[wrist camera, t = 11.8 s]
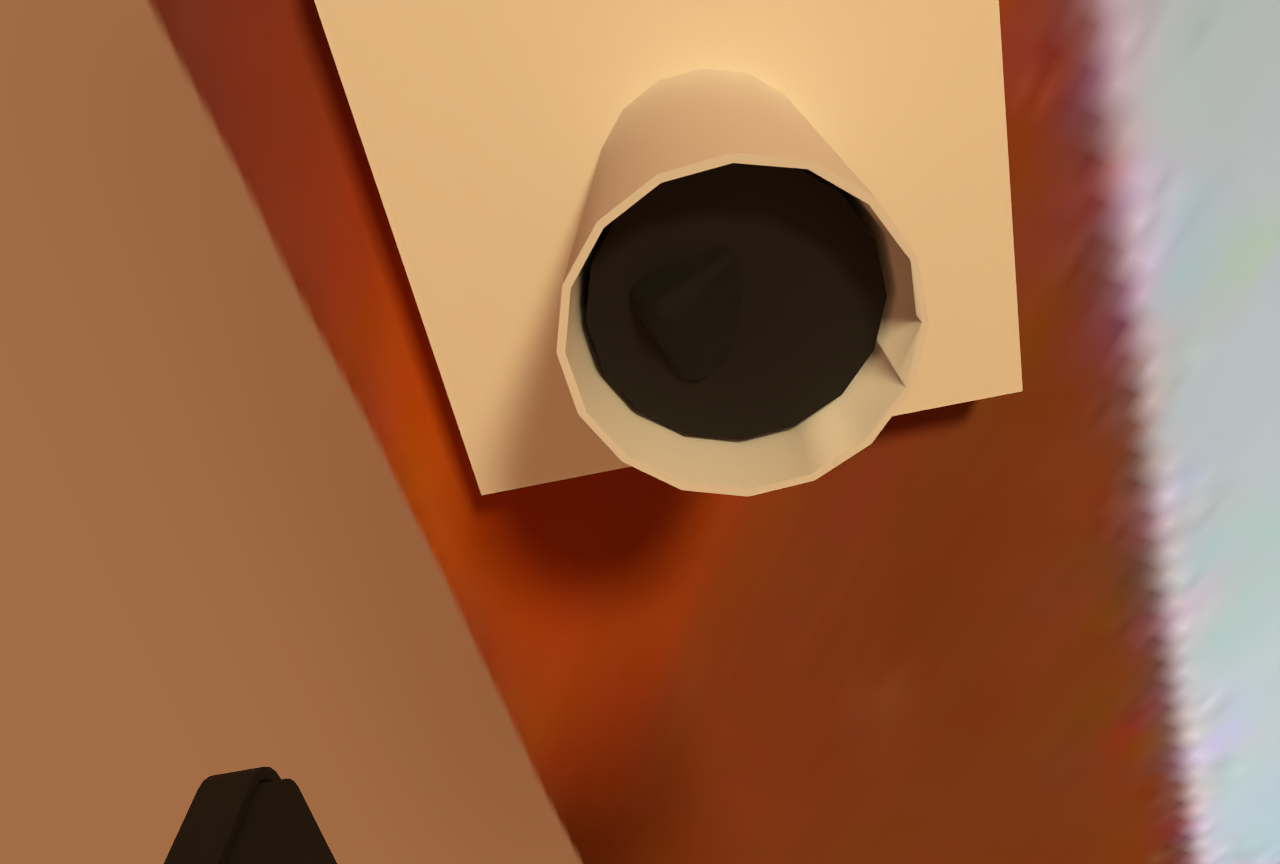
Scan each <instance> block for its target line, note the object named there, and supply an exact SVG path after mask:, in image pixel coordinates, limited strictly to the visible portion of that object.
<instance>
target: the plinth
mask: <svg viewBox="0 0 1280 864" xmlns="http://www.w3.org/2000/svg"><path fill="white" fill-rule="evenodd" d="M314 2H315V5H316V8H317V11H318V14H319V16H320V19H321V22H322V25H323V28H324V31H325V34H326V37H327V40H328V43H329V46H330V49H331V52H332V55H333V58H334V61H335V64H336V67H337V70H338V73H339V76H340V79H341V81H342V84H343V87H344V90H345V93H346V96H347V99H348V102H349V105H350V108H351V111H352V114H353V117H354V120H355V123H356V126H357V129H358V132H359V135H360V138H361V141H362V144H363V146H364V149H365V152H366V155H367V158H368V161H369V164H370V167H371V170H372V173H373V176H374V179H375V182H376V185H377V188H378V191H379V194H380V197H381V200H382V203H383V206H384V209H385V211H386V214H387V217H388V220H389V223H390V226H391V229H392V232H393V235H394V238H395V241H396V244H397V247H398V250H399V253H400V256H401V259H402V262H403V265H404V268H405V271H406V274H407V276H408V279H409V282H410V285H411V288H412V291H413V294H414V297H415V300H416V303H417V306H418V309H419V312H420V315H421V318H422V321H423V324H424V327H425V330H426V333H427V336H428V339H429V341H430V344H431V347H432V350H433V353H434V356H435V359H436V362H437V365H438V368H439V371H440V374H441V377H442V380H443V383H444V386H445V389H446V392H447V395H448V398H449V401H450V404H451V407H452V409H453V412H454V415H455V418H456V421H457V424H458V427H459V430H460V433H461V436H462V439H463V442H464V445H465V448H466V451H467V454H468V457H469V460H470V463H471V466H472V469H473V472H474V474H475V477H476V480H477V483H478V486H479V489H480V492H481V495H486V494H491V493H496V492H501V491H507V490H512V489H517V488H522V487H527V486H533V485H538V484H543V483H548V482H553V481H559V480H564V479H569V478H574V477H579V476H585V475H590V474H595V473H600V472H605V471H610V470H616V469H621V468H626V467H631V466H630V465H628V464H626V463H624V462H622V461H621V460H620V459H619V458H618V457H617V456H616V455H615V453H614V452H613V451H612V450H611V449H610V448H609V447H608V446H607V445H606V444H605V443H604V442H603V441H602V439H601V438H600V437H599V436H598V435H597V434H596V433H595V432H594V431H593V430H592V429H591V428H590V427H589V425H588V424H587V423H586V422H585V421H584V420H583V419H582V418H581V417H580V416H579V415H578V412H577V410H576V407H575V404H574V401H573V398H572V395H571V393H570V390H569V387H568V384H567V381H566V378H565V376H564V373H563V370H562V367H561V364H560V362H559V359H558V356H557V353H556V352H557V340H558V328H559V316H560V304H561V293H562V284H563V280H564V277H565V273H566V270H567V267H568V263H569V260H570V256H571V253H572V249H573V246H574V243H575V239H576V236H577V232H578V229H579V225H580V222H581V219H582V215H583V212H584V208H585V205H586V201H587V198H588V194H589V191H590V188H591V184H592V181H593V177H594V174H595V170H596V167H597V164H598V160H599V157H600V153H601V149H602V147H603V145H604V143H605V142H606V140H607V138H608V136H609V134H610V132H611V130H612V128H613V127H614V125H615V123H616V121H617V119H618V117H619V115H620V114H621V112H622V110H623V109H624V108H625V107H627V106H628V105H629V104H630V103H631V102H633V101H634V100H635V99H636V98H638V97H639V96H640V95H641V94H642V93H644V92H645V91H646V90H647V89H649V88H650V87H651V86H652V85H653V84H655V83H656V82H657V81H659V80H662V79H666V78H669V77H672V76H676V75H679V74H683V73H686V72H689V71H693V70H696V69H699V68H709V69H718V70H726V71H735V72H743V73H748V74H750V75H752V76H753V77H755V78H757V79H759V80H760V81H762V82H764V83H765V84H767V85H769V86H770V87H772V88H774V89H776V90H777V91H779V92H781V93H782V94H784V95H786V96H787V98H788V99H789V100H790V101H791V102H792V103H793V105H794V106H795V107H796V108H797V109H798V110H799V111H800V112H801V114H802V115H803V116H804V117H805V118H806V119H807V120H808V122H809V123H810V124H811V125H812V126H813V127H814V128H815V129H816V131H817V132H818V133H819V134H820V135H821V136H822V137H823V139H824V140H825V141H826V142H827V143H828V144H829V145H830V146H831V148H832V149H833V150H834V151H835V152H836V153H837V154H838V156H839V157H840V158H841V159H842V160H843V161H844V162H845V163H846V165H847V166H848V167H849V168H850V169H851V170H852V171H853V173H854V174H855V175H856V176H857V177H858V178H859V179H860V180H861V182H862V183H863V184H864V185H865V186H866V187H867V188H868V190H869V191H870V192H871V193H872V194H873V195H874V196H875V197H876V199H877V200H878V201H879V203H880V204H881V206H882V207H883V208H884V210H885V211H886V213H887V214H888V216H889V217H890V218H891V220H892V221H893V223H894V224H895V225H896V227H897V228H898V230H899V231H900V232H901V234H902V235H903V237H904V238H905V240H906V241H907V242H908V244H909V245H910V247H911V248H912V249H913V251H914V252H915V254H916V255H917V257H918V263H919V268H920V274H921V280H922V285H923V291H924V297H925V303H926V308H927V314H928V320H929V326H928V330H927V334H926V338H925V342H924V346H923V350H922V353H921V357H920V361H919V365H918V369H917V373H916V377H915V381H914V385H913V389H912V390H911V391H910V393H909V394H908V395H907V397H906V398H905V399H904V401H903V402H902V403H901V405H900V406H899V407H898V409H897V410H896V412H895V413H894V414H893V416H896V415H901V414H906V413H911V412H917V411H922V410H927V409H932V408H937V407H943V406H948V405H953V404H958V403H963V402H969V401H974V400H979V399H984V398H989V397H994V396H1000V395H1005V394H1010V393H1015V392H1020V391H1023V390H1022V374H1021V357H1020V341H1019V325H1018V308H1017V292H1016V276H1015V259H1014V243H1013V227H1012V210H1011V194H1010V178H1009V161H1008V145H1007V129H1006V112H1005V96H1004V80H1003V63H1002V47H1001V31H1000V15H999V0H314Z"/></svg>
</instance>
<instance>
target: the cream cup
mask: <svg viewBox="0 0 1280 864" xmlns="http://www.w3.org/2000/svg"><path fill="white" fill-rule="evenodd" d="M928 326H929V320H928V314H927V308H926V303H925V297H924V291H923V285H922V280H921V274H920V268H919V263H918V257H917V255H916V254H915V252H914V251H913V249H912V248H911V247H910V245H909V244H908V242H907V241H906V240H905V238H904V237H903V235H902V234H901V232H900V231H899V230H898V228H897V227H896V225H895V224H894V223H893V221H892V220H891V218H890V217H889V216H888V214H887V213H886V211H885V210H884V208H883V207H882V206H881V204H880V203H879V201H878V200H877V199H876V197H875V196H874V195H873V194H872V193H871V192H870V191H869V190H868V188H867V187H866V186H865V185H864V184H863V183H862V182H861V180H860V179H859V178H858V177H857V176H856V175H855V174H854V173H853V171H852V170H851V169H850V168H849V167H848V166H847V165H846V163H845V162H844V161H843V160H842V159H841V158H840V157H839V156H838V154H837V153H836V152H835V151H834V150H833V149H832V148H831V146H830V145H829V144H828V143H827V142H826V141H825V140H824V139H823V137H822V136H821V135H820V134H819V133H818V132H817V131H816V129H815V128H814V127H813V126H812V125H811V124H810V123H809V122H808V120H807V119H806V118H805V117H804V116H803V115H802V114H801V112H800V111H799V110H798V109H797V108H796V107H795V106H794V105H793V103H792V102H791V101H790V100H789V99H788V98H787V96H786V95H784V94H782V93H781V92H779V91H777V90H776V89H774V88H772V87H770V86H769V85H767V84H765V83H764V82H762V81H760V80H759V79H757V78H755V77H753V76H752V75H750V74H748V73H743V72H735V71H726V70H718V69H709V68H699V69H696V70H693V71H689V72H686V73H683V74H679V75H676V76H672V77H669V78H666V79H662V80H659V81H657V82H656V83H655V84H653V85H652V86H651V87H650V88H649V89H647V90H646V91H645V92H644V93H642V94H641V95H640V96H639V97H638V98H636V99H635V100H634V101H633V102H631V103H630V104H629V105H628V106H627V107H625V108H624V109H623V110H622V112H621V114H620V115H619V117H618V119H617V121H616V123H615V125H614V127H613V128H612V130H611V132H610V134H609V136H608V138H607V140H606V142H605V143H604V145H603V147H602V149H601V153H600V157H599V160H598V164H597V167H596V170H595V174H594V177H593V181H592V184H591V188H590V191H589V194H588V198H587V201H586V205H585V208H584V212H583V215H582V219H581V222H580V225H579V229H578V232H577V236H576V239H575V243H574V246H573V249H572V253H571V256H570V260H569V263H568V267H567V270H566V273H565V277H564V280H563V284H562V293H561V304H560V316H559V328H558V340H557V352H556V353H557V356H558V359H559V362H560V364H561V367H562V370H563V373H564V376H565V378H566V381H567V384H568V387H569V390H570V393H571V395H572V398H573V401H574V404H575V407H576V410H577V412H578V415H579V416H580V417H581V418H582V419H583V420H584V421H585V422H586V423H587V424H588V425H589V427H590V428H591V429H592V430H593V431H594V432H595V433H596V434H597V435H598V436H599V437H600V438H601V439H602V441H603V442H604V443H605V444H606V445H607V446H608V447H609V448H610V449H611V450H612V451H613V452H614V453H615V455H616V456H617V457H618V458H619V459H620V460H621V461H622V462H624V463H626V464H628V465H630V466H632V467H634V468H636V469H638V470H640V471H643V472H645V473H647V474H649V475H651V476H653V477H655V478H657V479H659V480H661V481H664V482H666V483H668V484H670V485H672V486H674V487H676V488H678V489H680V490H685V491H696V492H706V493H717V494H728V495H738V496H753V495H757V494H761V493H765V492H769V491H773V490H777V489H781V488H785V487H789V486H794V485H798V484H802V483H806V482H810V481H814V480H816V479H817V478H819V477H821V476H822V475H824V474H825V473H827V472H828V471H830V470H831V469H833V468H834V467H836V466H838V465H839V464H841V463H842V462H844V461H845V460H847V459H848V458H850V457H851V456H853V455H855V454H856V453H858V452H859V451H861V450H862V449H864V448H865V447H867V446H868V445H870V444H872V442H873V441H874V440H875V438H876V437H877V436H878V434H879V433H880V432H881V430H882V429H883V428H884V426H885V425H886V424H887V422H888V421H889V420H890V418H891V417H892V416H893V414H894V413H895V412H896V410H897V409H898V407H899V406H900V405H901V403H902V402H903V401H904V399H905V398H906V397H907V395H908V394H909V393H910V391H911V390H912V389H913V385H914V381H915V377H916V373H917V369H918V365H919V361H920V357H921V353H922V350H923V346H924V342H925V338H926V334H927V330H928Z"/></svg>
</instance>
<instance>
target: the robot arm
mask: <svg viewBox="0 0 1280 864" xmlns="http://www.w3.org/2000/svg"><path fill="white" fill-rule="evenodd" d="M164 864H337V863H336V861H335V859H334V857H333V855H332V853H331V851H330V849H329V847H328V845H327V843H326V841H325V839H324V837H323V835H322V833H321V831H320V829H319V827H318V825H317V823H316V821H315V819H314V817H313V815H312V813H311V811H310V809H309V807H308V805H307V803H306V801H305V799H304V797H303V795H302V793H301V792H300V789H299V787H298V786H297V785H296V783H295V782H294V781H293V780H291V779H282V780H281V778H280V777H279V776H278V774H277V773H276V771H274V770H273V769H272V768H270V767H260V768H255V769H248V770H243V771H237V772H231V773H225V774H219V775H214V776H210V777H208V778H207V779H206V780H204V781H203V782H202V784H201V786H200V787H199V789H198V791H197V793H196V795H195V797H194V799H193V801H192V804H191V806H190V808H189V810H188V812H187V814H186V817H185V819H184V821H183V823H182V825H181V827H180V830H179V832H178V834H177V836H176V838H175V840H174V843H173V845H172V847H171V849H170V851H169V853H168V856H167V858H166V860H165V862H164Z"/></svg>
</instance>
